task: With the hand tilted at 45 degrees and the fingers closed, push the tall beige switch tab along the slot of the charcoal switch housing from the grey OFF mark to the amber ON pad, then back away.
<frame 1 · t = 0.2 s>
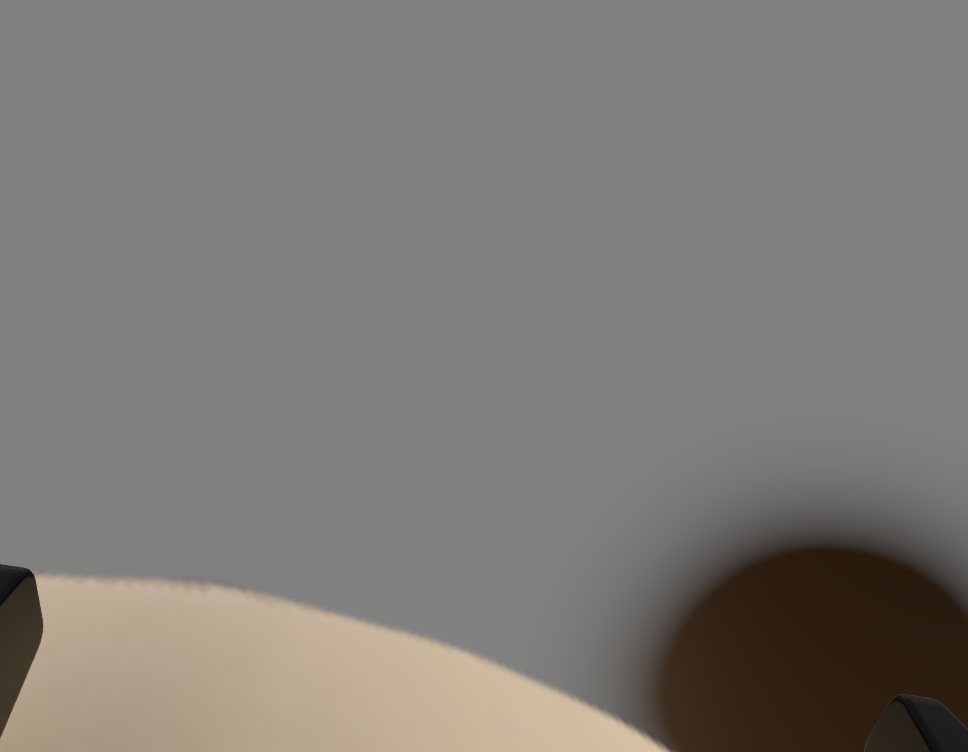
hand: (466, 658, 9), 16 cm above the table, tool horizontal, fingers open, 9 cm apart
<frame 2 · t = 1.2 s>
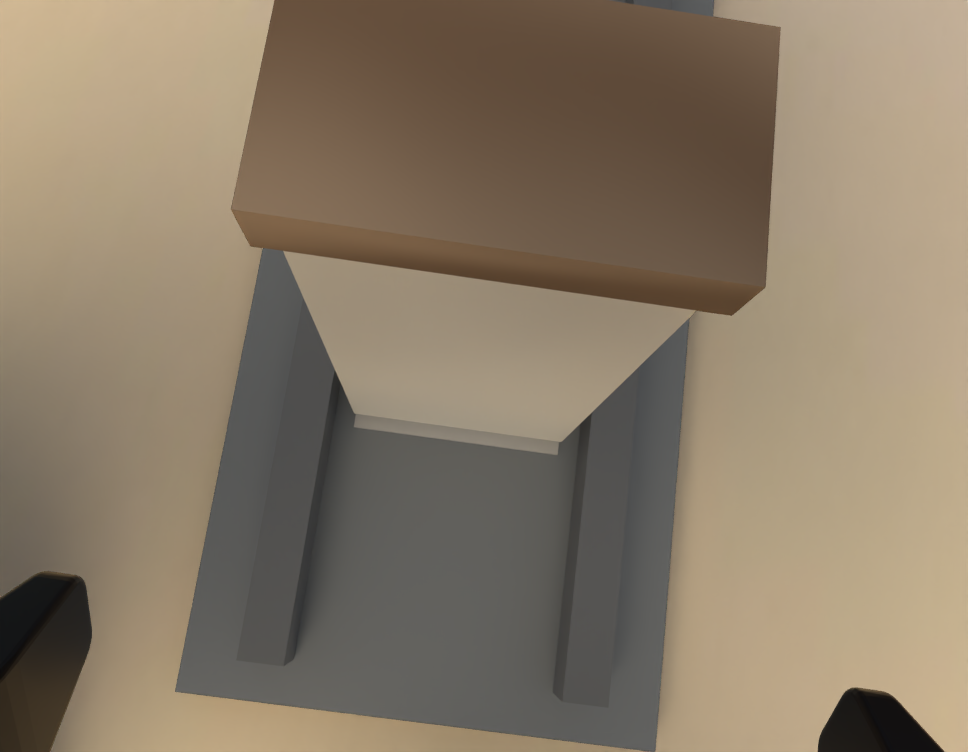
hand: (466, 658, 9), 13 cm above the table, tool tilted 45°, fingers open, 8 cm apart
switch tab: (481, 298, 15), point 8 cm above the table, slide at 0.0 cm
switch housing: (477, 281, 23), on the table
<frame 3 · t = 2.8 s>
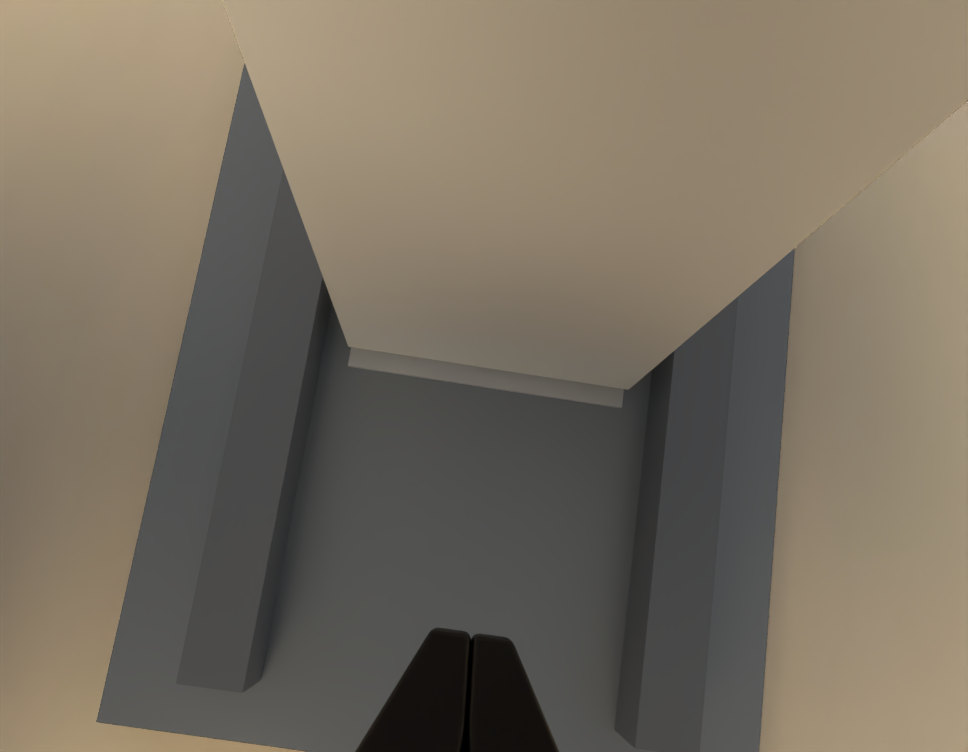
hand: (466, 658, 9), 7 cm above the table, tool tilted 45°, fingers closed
switch tab: (544, 136, 10), point 8 cm above the table, slide at 0.0 cm
switch housing: (513, 182, 18), on the table
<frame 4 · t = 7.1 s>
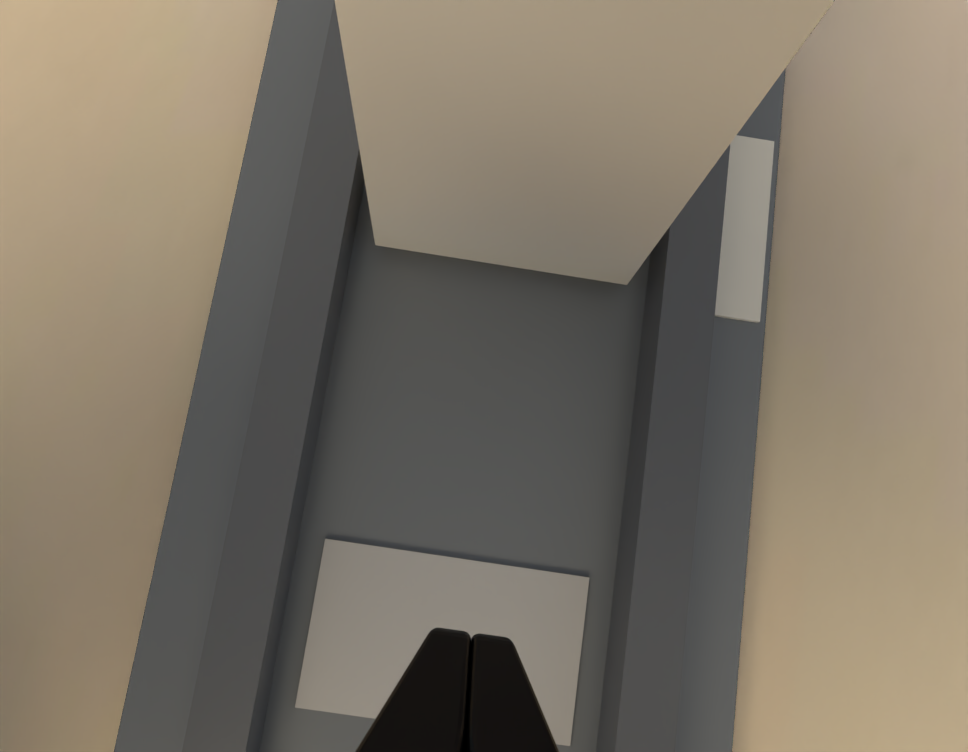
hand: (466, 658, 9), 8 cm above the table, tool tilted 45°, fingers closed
switch tab: (554, 17, 11), point 8 cm above the table, slide at 8.4 cm
switch housing: (467, 483, 18), on the table
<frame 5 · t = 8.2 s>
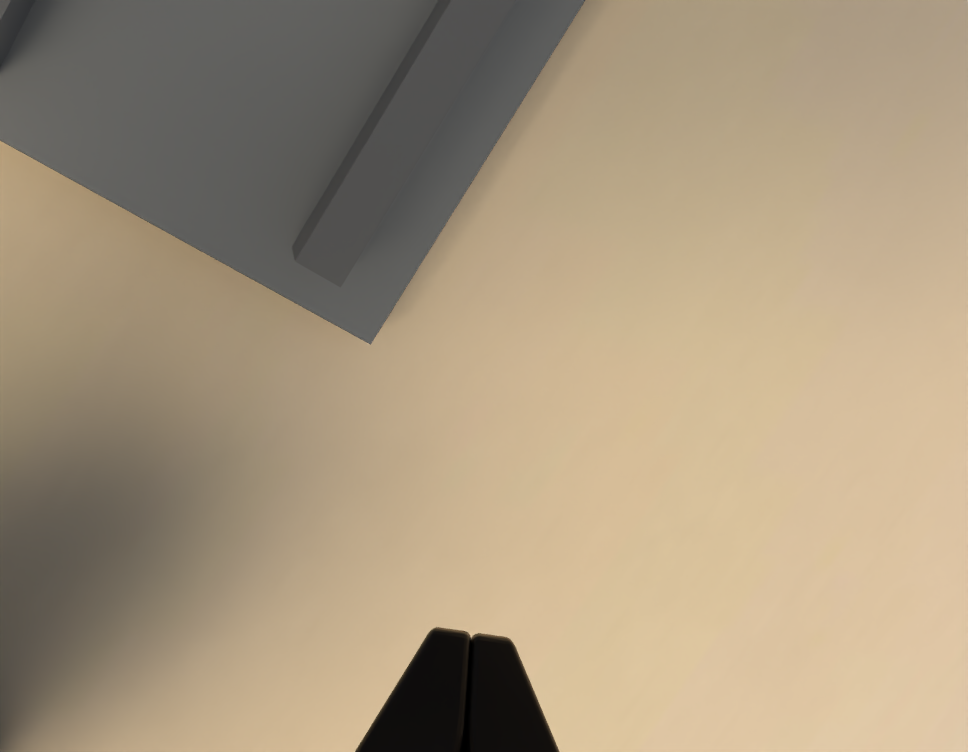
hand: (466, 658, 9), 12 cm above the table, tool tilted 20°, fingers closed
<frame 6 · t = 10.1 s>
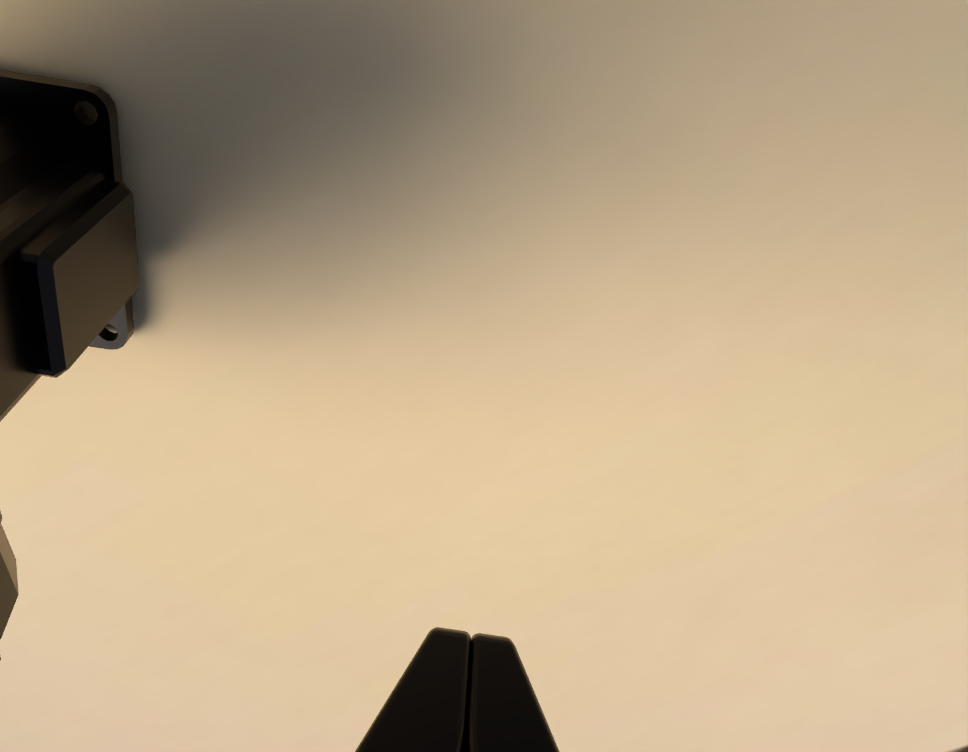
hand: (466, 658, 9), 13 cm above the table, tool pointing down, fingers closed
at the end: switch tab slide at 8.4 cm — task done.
